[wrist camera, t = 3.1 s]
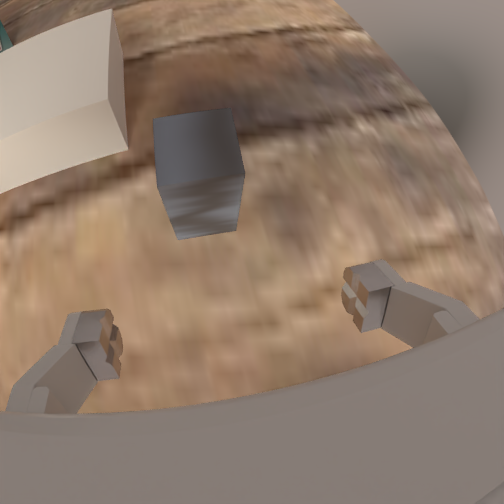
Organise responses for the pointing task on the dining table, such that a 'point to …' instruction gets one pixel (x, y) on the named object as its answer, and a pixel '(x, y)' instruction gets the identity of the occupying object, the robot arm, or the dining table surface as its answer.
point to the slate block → (199, 171)
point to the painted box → (61, 100)
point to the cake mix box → (4, 39)
